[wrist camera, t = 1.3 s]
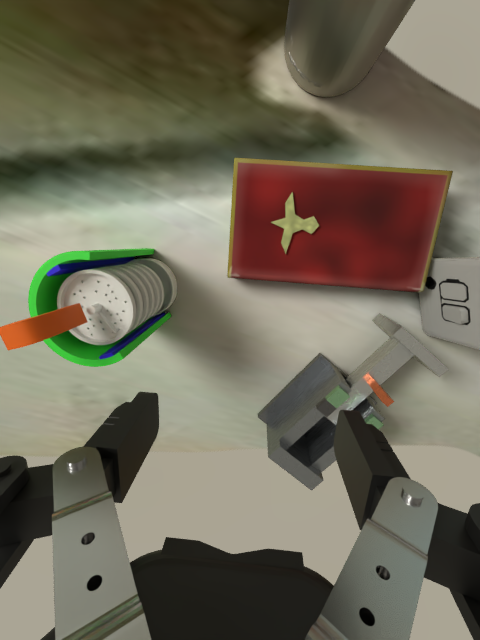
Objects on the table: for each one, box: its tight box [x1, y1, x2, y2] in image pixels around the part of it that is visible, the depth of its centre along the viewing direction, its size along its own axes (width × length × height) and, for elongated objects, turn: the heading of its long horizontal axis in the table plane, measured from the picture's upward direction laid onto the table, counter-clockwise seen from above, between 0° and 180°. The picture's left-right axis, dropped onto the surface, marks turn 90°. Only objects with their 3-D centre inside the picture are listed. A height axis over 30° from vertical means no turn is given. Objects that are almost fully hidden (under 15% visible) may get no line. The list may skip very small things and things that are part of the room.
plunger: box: [325, 314, 448, 425], centre depth 33 cm, size 13×7×8 cm, turn 140°
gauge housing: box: [258, 353, 385, 490], centre depth 35 cm, size 12×10×7 cm
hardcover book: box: [228, 158, 453, 292], centre depth 31 cm, size 12×21×4 cm, turn 86°
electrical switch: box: [419, 257, 480, 350], centre depth 30 cm, size 9×5×9 cm, turn 14°
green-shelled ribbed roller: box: [0, 248, 177, 367], centre depth 27 cm, size 9×8×18 cm
